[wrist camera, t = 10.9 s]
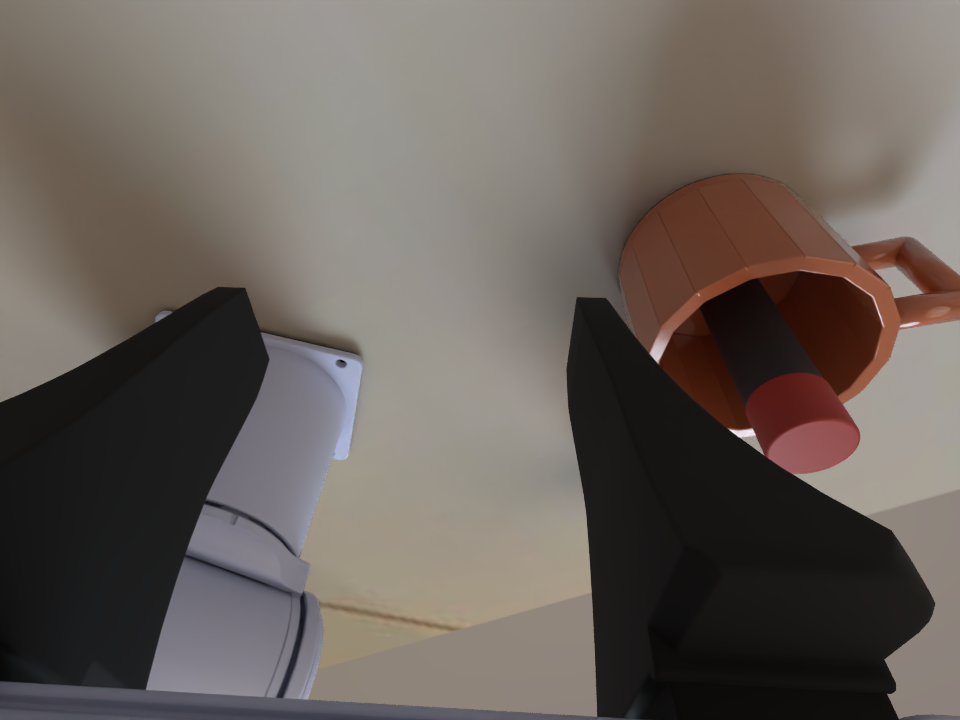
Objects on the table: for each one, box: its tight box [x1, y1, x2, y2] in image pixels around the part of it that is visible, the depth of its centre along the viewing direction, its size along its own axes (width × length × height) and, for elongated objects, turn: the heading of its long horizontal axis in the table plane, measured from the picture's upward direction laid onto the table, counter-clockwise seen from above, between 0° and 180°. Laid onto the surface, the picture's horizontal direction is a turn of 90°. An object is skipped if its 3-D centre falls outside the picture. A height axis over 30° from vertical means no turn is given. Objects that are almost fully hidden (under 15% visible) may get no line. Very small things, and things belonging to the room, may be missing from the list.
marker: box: [699, 278, 860, 474], centre depth 17 cm, size 2×2×9 cm
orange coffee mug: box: [619, 174, 960, 438], centre depth 19 cm, size 10×7×6 cm
